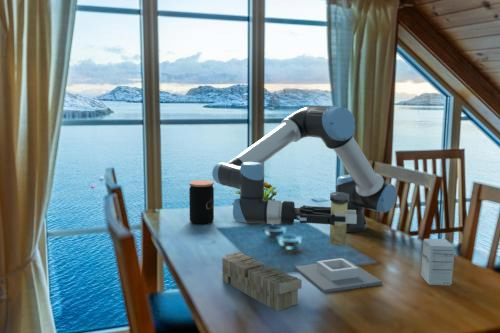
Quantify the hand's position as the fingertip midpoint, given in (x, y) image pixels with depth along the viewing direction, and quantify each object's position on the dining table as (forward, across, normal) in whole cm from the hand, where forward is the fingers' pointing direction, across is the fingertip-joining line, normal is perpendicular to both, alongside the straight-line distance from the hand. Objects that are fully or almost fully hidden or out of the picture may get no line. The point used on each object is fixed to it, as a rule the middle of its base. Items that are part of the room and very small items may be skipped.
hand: (356, 216), depth 150 cm
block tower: (-28, +16, -20) cm, 38 cm away
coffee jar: (-64, -52, -20) cm, 85 cm away
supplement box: (+26, -3, -20) cm, 33 cm away
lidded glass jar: (-5, 0, -9) cm, 10 cm away
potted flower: (-39, -65, -20) cm, 78 cm away
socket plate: (-5, 0, -20) cm, 21 cm away
